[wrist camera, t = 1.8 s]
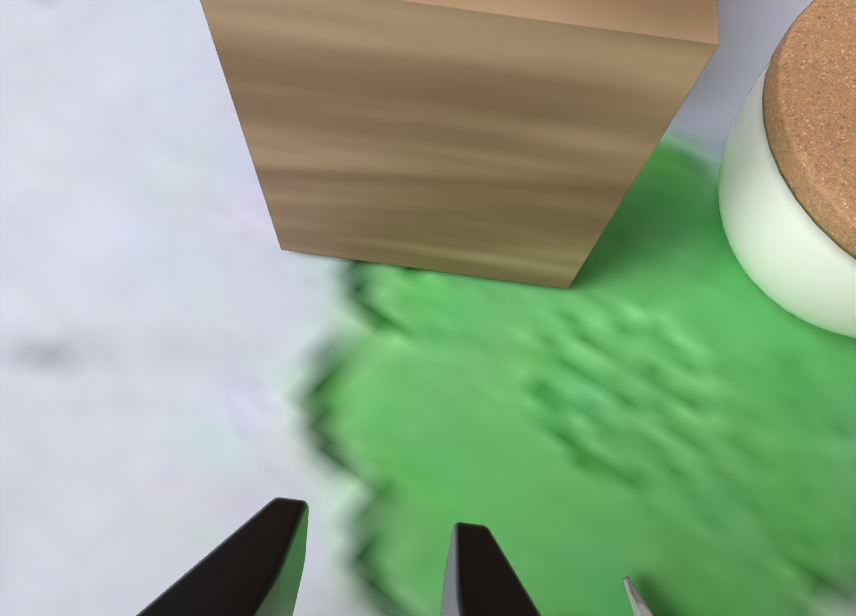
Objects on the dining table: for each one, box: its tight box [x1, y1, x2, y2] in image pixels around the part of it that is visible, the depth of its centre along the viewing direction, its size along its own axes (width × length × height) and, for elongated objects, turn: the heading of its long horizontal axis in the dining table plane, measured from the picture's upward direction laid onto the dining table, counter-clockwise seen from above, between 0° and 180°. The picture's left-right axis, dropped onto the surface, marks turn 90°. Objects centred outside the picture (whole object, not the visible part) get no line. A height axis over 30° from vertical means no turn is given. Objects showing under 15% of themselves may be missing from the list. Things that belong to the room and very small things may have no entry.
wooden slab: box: [200, 0, 719, 289], centre depth 20 cm, size 9×12×12 cm
